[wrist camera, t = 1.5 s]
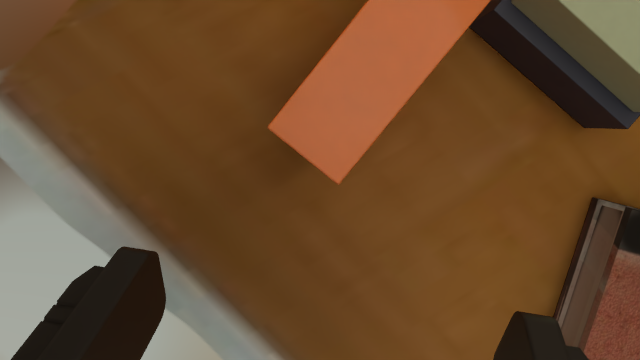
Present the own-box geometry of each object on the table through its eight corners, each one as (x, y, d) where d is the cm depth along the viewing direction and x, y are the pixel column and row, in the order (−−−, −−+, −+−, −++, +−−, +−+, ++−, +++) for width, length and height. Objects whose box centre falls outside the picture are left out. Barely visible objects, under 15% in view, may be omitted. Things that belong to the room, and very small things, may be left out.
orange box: (289, 123, 35) (266, 127, 17) (408, -27, 34) (515, -187, 16) (324, 152, 36) (338, 185, 18) (444, 5, 34) (588, -118, 17)
